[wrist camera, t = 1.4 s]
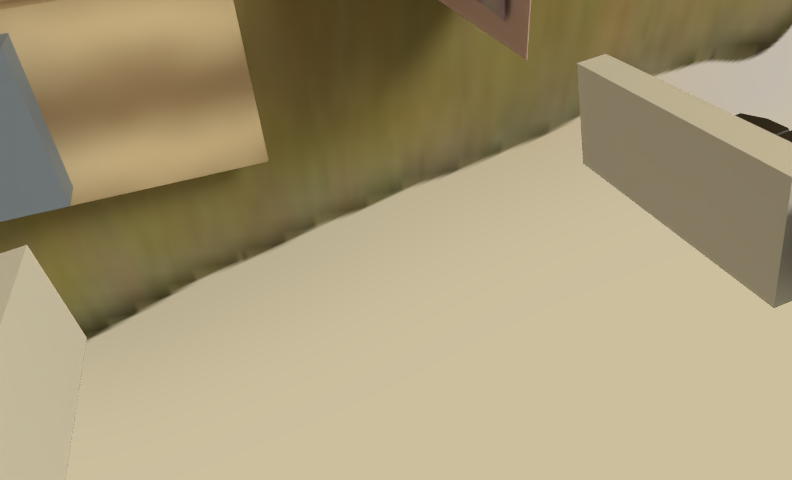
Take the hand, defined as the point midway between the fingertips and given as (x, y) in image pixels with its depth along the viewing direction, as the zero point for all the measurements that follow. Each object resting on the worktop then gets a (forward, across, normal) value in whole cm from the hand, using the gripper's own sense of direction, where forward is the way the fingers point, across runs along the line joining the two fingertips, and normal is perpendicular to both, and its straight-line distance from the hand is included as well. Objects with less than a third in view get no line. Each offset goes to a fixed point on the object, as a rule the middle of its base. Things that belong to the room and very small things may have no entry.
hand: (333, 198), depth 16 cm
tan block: (+24, -11, -2) cm, 27 cm away
